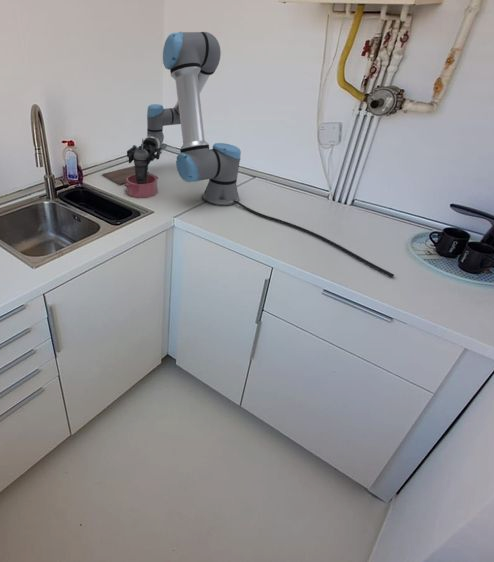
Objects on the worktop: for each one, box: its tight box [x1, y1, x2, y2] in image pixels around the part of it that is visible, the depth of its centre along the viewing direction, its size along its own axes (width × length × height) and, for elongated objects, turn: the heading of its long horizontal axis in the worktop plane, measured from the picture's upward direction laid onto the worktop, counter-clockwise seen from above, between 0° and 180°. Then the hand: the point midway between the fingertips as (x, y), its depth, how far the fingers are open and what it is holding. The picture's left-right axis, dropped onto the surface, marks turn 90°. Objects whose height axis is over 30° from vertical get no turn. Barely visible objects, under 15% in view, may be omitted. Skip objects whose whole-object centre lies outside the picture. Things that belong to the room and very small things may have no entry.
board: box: [102, 165, 153, 186], centre depth 187 cm, size 16×20×1 cm
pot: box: [124, 173, 159, 199], centre depth 170 cm, size 14×17×6 cm
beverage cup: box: [133, 138, 149, 184], centre depth 163 cm, size 7×7×20 cm
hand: (138, 160), depth 158 cm, fingers closed on beverage cup, 7 cm apart
